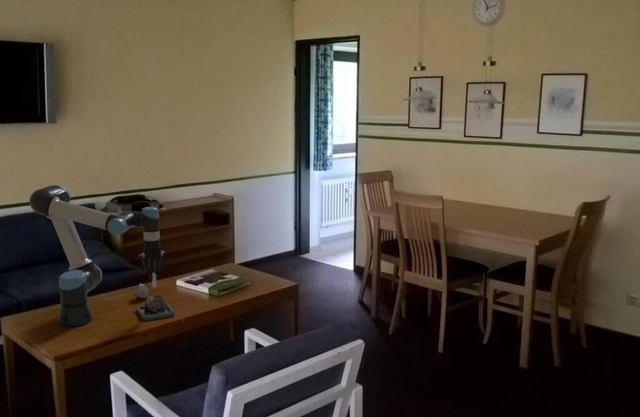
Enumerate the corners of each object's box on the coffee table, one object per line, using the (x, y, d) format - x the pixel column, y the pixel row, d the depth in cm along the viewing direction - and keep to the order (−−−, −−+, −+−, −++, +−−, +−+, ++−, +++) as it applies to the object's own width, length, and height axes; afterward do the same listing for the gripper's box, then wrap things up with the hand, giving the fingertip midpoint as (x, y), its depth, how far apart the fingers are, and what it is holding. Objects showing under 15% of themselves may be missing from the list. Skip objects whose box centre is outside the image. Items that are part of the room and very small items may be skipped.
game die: (146, 304, 321) (157, 290, 319) (134, 303, 314) (145, 289, 312) (138, 293, 325) (149, 279, 324) (126, 291, 318) (137, 277, 316)
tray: (143, 321, 288) (143, 316, 288) (136, 310, 302) (136, 306, 301) (174, 315, 295) (174, 311, 294) (166, 305, 308) (166, 301, 308)
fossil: (161, 315, 291) (150, 297, 290) (146, 322, 294) (136, 304, 293) (171, 307, 302) (161, 289, 301) (156, 313, 304) (147, 296, 303)
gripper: (139, 242, 285) (142, 290, 289) (167, 239, 291) (169, 286, 295) (136, 239, 291) (139, 286, 296) (163, 236, 297) (165, 282, 302)
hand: (154, 286), depth 295 cm, fingers closed
